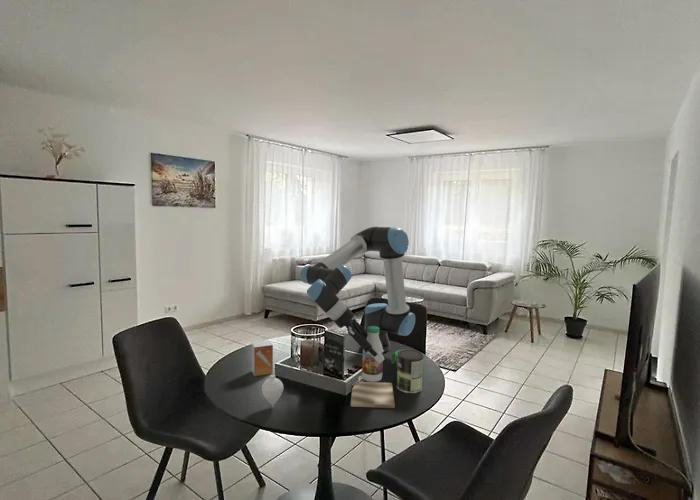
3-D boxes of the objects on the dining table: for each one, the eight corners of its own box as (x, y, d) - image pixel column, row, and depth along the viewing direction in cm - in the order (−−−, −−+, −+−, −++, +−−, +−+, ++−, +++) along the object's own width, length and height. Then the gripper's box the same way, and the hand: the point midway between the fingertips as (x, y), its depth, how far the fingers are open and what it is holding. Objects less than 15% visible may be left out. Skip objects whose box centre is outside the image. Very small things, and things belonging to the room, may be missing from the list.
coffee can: (397, 393, 151) (398, 358, 149) (395, 381, 161) (396, 348, 160) (423, 394, 150) (425, 359, 149) (420, 382, 160) (421, 349, 159)
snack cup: (385, 373, 169) (385, 350, 168) (401, 367, 176) (402, 345, 175) (412, 385, 157) (412, 361, 156) (428, 379, 164) (429, 356, 163)
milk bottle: (359, 374, 150) (361, 324, 148) (378, 373, 152) (380, 323, 150) (364, 383, 143) (366, 330, 141) (384, 381, 144) (386, 329, 142)
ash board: (352, 384, 158) (352, 381, 158) (391, 385, 157) (391, 382, 157) (350, 406, 140) (350, 403, 140) (394, 408, 139) (394, 405, 139)
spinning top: (278, 400, 143) (278, 369, 142) (286, 409, 137) (286, 377, 136) (258, 405, 139) (258, 373, 138) (266, 415, 133) (266, 381, 132)
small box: (254, 376, 163) (254, 347, 162) (251, 371, 169) (251, 342, 167) (273, 373, 166) (273, 344, 165) (269, 368, 172) (269, 340, 171)
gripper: (335, 313, 156) (374, 353, 157) (330, 328, 136) (375, 374, 137) (348, 301, 155) (387, 341, 156) (345, 314, 135) (390, 360, 136)
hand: (381, 356), depth 146 cm, fingers closed on milk bottle, 7 cm apart
